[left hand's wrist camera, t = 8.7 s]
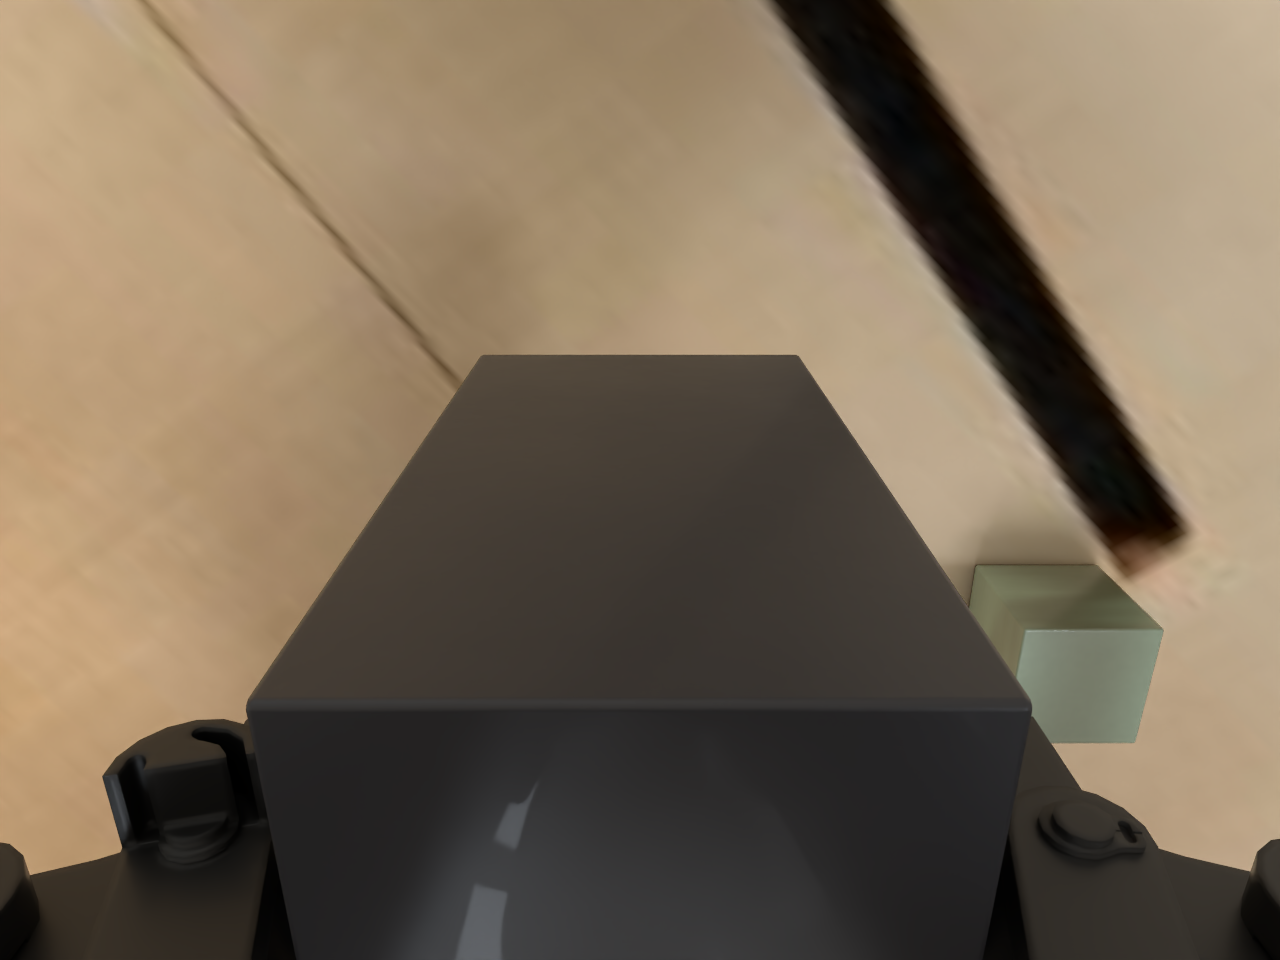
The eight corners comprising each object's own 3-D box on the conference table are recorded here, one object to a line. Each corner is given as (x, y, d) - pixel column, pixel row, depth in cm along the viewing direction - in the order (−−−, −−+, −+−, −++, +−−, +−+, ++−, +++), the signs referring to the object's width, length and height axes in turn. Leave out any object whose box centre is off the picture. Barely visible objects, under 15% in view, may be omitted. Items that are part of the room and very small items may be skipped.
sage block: (1097, 563, 29) (1165, 629, 25) (1075, 668, 30) (1135, 743, 27) (974, 564, 29) (1024, 629, 25) (958, 668, 30) (1002, 744, 27)
